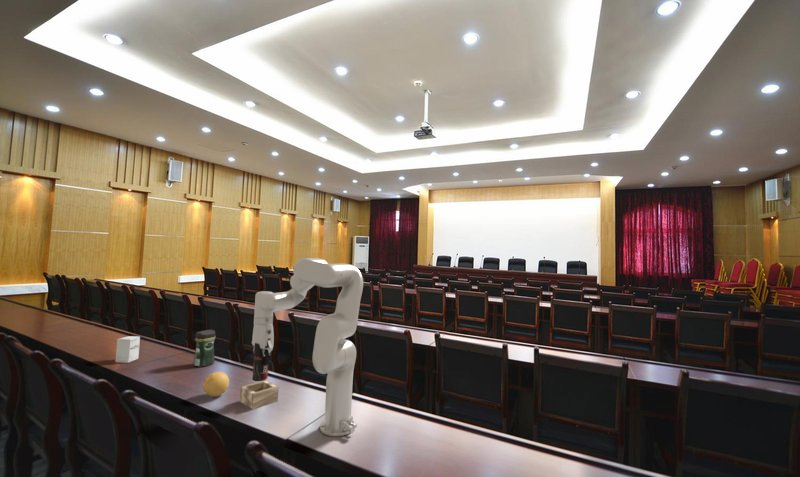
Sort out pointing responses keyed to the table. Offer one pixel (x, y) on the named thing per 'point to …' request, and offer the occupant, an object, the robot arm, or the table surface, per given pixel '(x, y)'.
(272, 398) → the wooden box
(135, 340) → the supplement box
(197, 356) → the coffee jar
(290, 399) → the table surface
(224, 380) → the stress ball
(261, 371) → the deodorant
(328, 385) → the robot arm
